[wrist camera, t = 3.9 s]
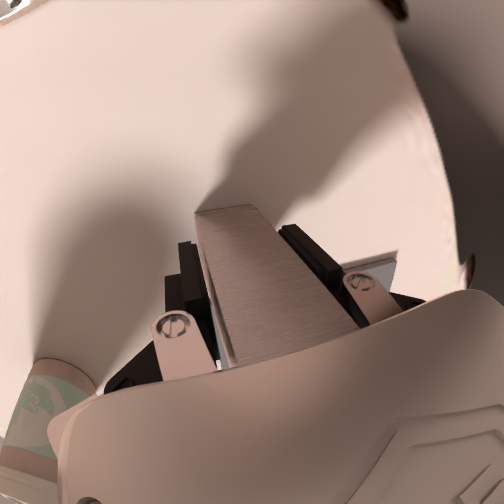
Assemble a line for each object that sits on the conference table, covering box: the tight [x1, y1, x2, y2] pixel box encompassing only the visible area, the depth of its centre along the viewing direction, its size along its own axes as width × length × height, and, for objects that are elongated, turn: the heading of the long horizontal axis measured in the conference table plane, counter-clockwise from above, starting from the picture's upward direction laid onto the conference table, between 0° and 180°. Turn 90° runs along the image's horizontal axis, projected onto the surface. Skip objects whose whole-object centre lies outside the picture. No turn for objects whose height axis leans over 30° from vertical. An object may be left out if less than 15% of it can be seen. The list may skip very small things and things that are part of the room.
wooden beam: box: [194, 204, 360, 368], centre depth 10 cm, size 3×3×11 cm
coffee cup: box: [0, 359, 95, 504], centre depth 11 cm, size 8×8×12 cm
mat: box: [209, 258, 397, 369], centre depth 22 cm, size 20×14×1 cm
